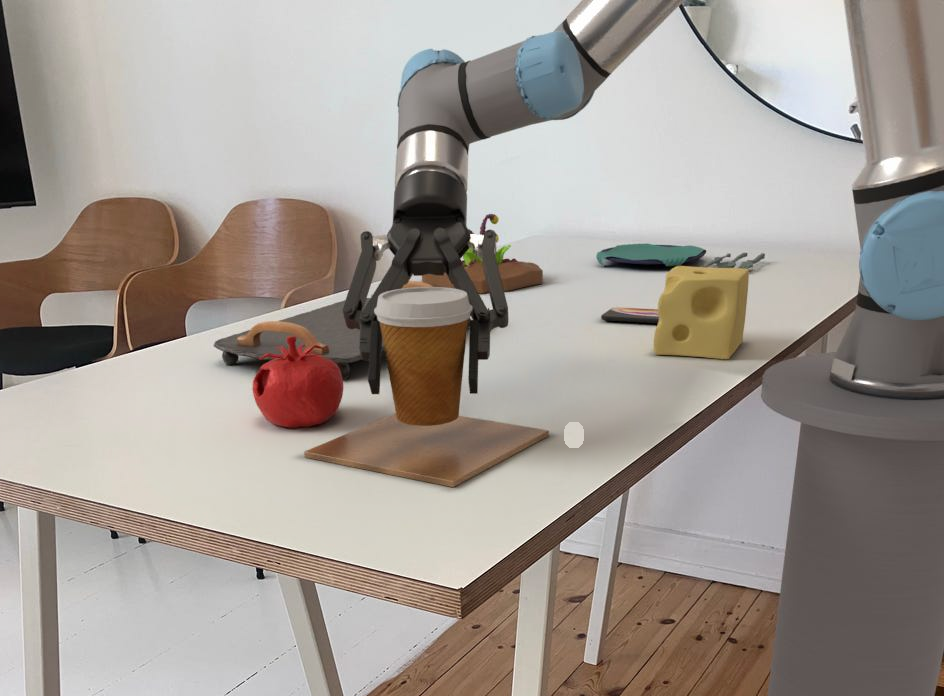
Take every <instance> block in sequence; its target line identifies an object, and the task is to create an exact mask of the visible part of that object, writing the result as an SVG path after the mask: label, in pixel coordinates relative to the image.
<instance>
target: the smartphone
mask: <svg viewBox="0 0 944 696" xmlns="http://www.w3.org/2000/svg"><path fill="white" fill-rule="evenodd" d="M600 318H601V320H603V321H608V322H609V321H610V322H612V321H613V322H626V323H627V322H629V323H644V324H645V323H648V324H658V322H659V315H658V308H656V309H654V308H638V307H611V308H610V309H608V310H607V311H605V312H604V313H603V314H601V316H600Z"/></svg>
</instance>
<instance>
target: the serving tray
mask: <svg viewBox="0 0 944 696" xmlns="http://www.w3.org/2000/svg"><path fill="white" fill-rule="evenodd" d="M414 287H434V286H432V285H430V284H427V283H423V282H422V281H418V280H409V282H408V283H407V284H406V285H404V286H403V287H402V289H403V288H414ZM372 295H373V294H371V295H370V297H367V298H366V301H365V304H364V308H365V306H366V305H367V303H368V302H369V300H370V298H371V297H372ZM345 300H346V299H344V300H341V301H337V302H334V303H332V304H329V305H325V306H322V307H318V308H316V309H313V310H311V311H307V312H303V313H299V314H295V315H293V316H290V317H286V318H284V319H283V318H282V319H280V320H271V321H270V320H269V321H263V322H262V321H261V322H259V323H257V324H255V325H254V326H252V327H251V329H247V330H245V331H242V332H240V333H234V334H232V335H229V336H226V337H223V338H220V339H217V340H215V341H214V343H213V347H214V348H216V349H217V350H219V351H220V352H222V353H221V358H222V361H223V362H224V363H225V365H226V366H235V365H237V362H239V361H238V360H239V357H248V358H253V359H258V358H261V357H263V356H264V355H265V354H267V353H271V354H275V355H283V353H282V352H281V350H280V348H275V347H280V346H281V347H284V348H285V349H286V350H287V351H288V352H289V345H288V343H287V341H286V338H287V337H289V336H296V338H297V340H296V342H295V343H296V349H298V347H299V346H300V345H304V346H306V347H304V346H303V348H302V352H303V351H304V350H306V349H307V348H309V347H311V346H313V345H318V346H321V347H322V348H325V349H329V350H325V349H320V348H313V349H312V350H311V351H310V352H309V353H311V354H316V355H319V356H321V357H323V358H326V359H329V360H332V361H333V362H335V363H336V364H337V365H338V367H339V369H340V371H341V375H342V379H343V381H345V380H347V379H348V377H349V375H350V374H351V367H350V365H349V364H350V363H355V362H359V361H360V360H363V359H362V357H361V353H360V350H359V341H360V330H359V329H356V328H355V329H349V328H348V327H347V326H346V322H345V319H344V315H343V311H342V310H343V306H344V303H345ZM364 308H363V310H364ZM470 320H472V318H471V317H470V318H468V324H467V331H468V330H470ZM380 328H381V326H380ZM383 351H385V349H384V343H383V338H382V352H383ZM273 359H275V358H274V357H265V358H264V359H263V360H265V361H266V360H268V361H271V360H273ZM258 360H259V359H258Z"/></svg>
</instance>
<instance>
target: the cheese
mask: <svg viewBox="0 0 944 696" xmlns="http://www.w3.org/2000/svg"><path fill="white" fill-rule="evenodd" d="M749 277H750V268H748V269H742V268H738V267H734V268H718V267H703V266H689V265H687V266H686V265H678V266H676V265H675V266H674V267H673V268H671V269H670V270H669V271H667V273H666V275H665V284H664V290H663V292H662V293H661V294H660V296H659V298H658V304H657V309H658V315H659V322H658V323H657V324H656V327H655V329H654V337H653V351H654V355H659V356H680V357H681V356H682V357H695V358H709V359H718V360H729V359H730V358H731V357H732V356H733V355H734V353H735V352H736V351H737V349H738V348H739V346H740V345H741V344H742V343H743V338H744V331H745V323H746V313H747V305H748V304H747V303H748V292H749V279H750V278H749Z"/></svg>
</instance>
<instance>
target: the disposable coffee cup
mask: <svg viewBox="0 0 944 696" xmlns="http://www.w3.org/2000/svg"><path fill="white" fill-rule="evenodd" d="M472 310H473V307H472V305H470V304H469V300H468V296H467V292H465V291H463V290H459V289H454V288H445V287H435V286H433V287H414V288H403V289H396V290H391V291H387V292H384V293H382V294H380V295H379V296H378V302H377V307H376V308H375V309H374V313H375V314H376V315H377V319H378V321H379V322H380V326H381V332H382V338H383V343H384V349H385V350H384V356H385V360H386V366H387V370H388V371H387V372H388V376H389V382H390V388H391V392H392V393H391V394H392V400H393V405H394V411H395V413H396V418H397V420H398V421H400V422H402V423H405V424H409V425H416V426H433V425H442V424H445V423H449V422H452V421H454V420H456V419H457V418H458V416H460V415H459V414H460V406H461V405H460V403H461V395H462V385H463V376H464V375H463V373H464V363H465V354H466V344H467V343H466V342H467V335H468V330H467V324H468V318H470V319H471V316H470V312H471V311H472Z"/></svg>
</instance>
